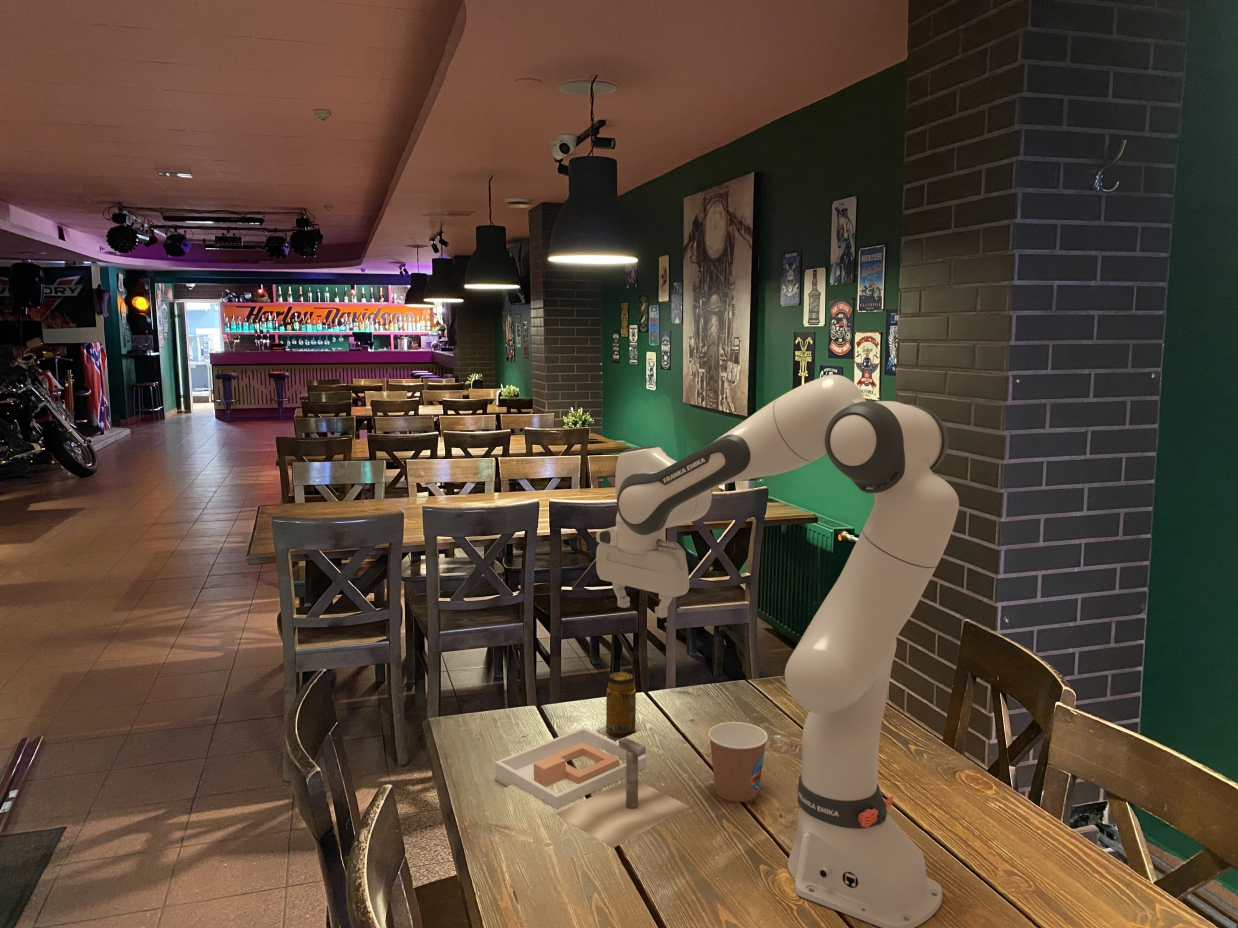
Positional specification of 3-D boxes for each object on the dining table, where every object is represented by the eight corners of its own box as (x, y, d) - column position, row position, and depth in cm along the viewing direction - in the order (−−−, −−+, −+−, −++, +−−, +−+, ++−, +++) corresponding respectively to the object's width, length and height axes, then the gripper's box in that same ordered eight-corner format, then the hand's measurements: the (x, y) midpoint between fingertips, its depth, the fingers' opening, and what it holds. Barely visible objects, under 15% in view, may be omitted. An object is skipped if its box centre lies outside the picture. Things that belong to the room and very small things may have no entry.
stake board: (690, 814, 150) (691, 743, 149) (613, 856, 138) (613, 779, 136) (632, 785, 160) (632, 718, 159) (555, 821, 148) (555, 749, 146)
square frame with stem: (618, 769, 165) (618, 748, 164) (557, 797, 155) (556, 775, 154) (583, 751, 172) (583, 732, 171) (521, 777, 162) (521, 756, 161)
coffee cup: (764, 816, 150) (766, 749, 148) (704, 810, 152) (705, 744, 150) (767, 787, 160) (768, 724, 158) (710, 781, 162) (711, 719, 160)
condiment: (623, 721, 188) (623, 667, 186) (649, 735, 181) (650, 679, 180) (596, 731, 183) (596, 675, 182) (622, 745, 177) (622, 687, 175)
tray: (646, 774, 165) (646, 756, 164) (556, 816, 150) (556, 797, 149) (583, 743, 177) (583, 727, 177) (495, 779, 162) (495, 761, 162)
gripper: (696, 541, 153) (697, 619, 154) (614, 526, 167) (615, 597, 169) (672, 547, 148) (673, 627, 150) (589, 531, 163) (591, 604, 165)
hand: (642, 611), depth 160 cm, fingers open, 8 cm apart
